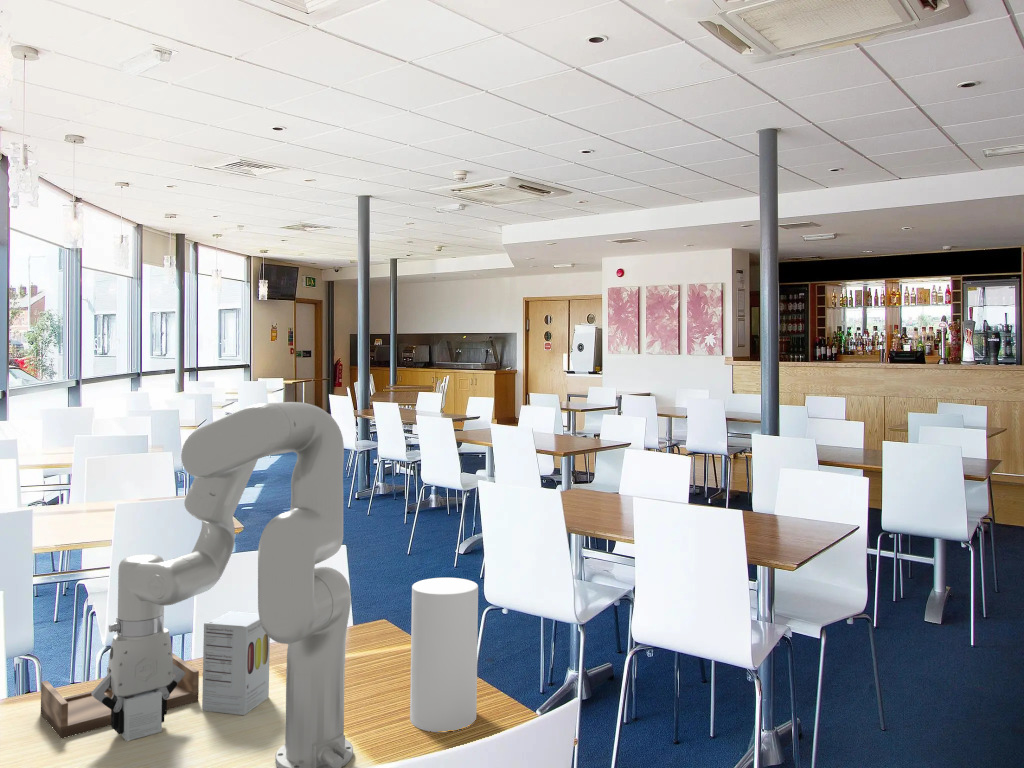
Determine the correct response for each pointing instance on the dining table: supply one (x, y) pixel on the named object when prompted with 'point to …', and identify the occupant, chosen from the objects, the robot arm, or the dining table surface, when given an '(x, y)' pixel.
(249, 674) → the supplement box
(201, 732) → the dining table surface
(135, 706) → the skincare box
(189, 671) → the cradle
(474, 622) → the cylinder
